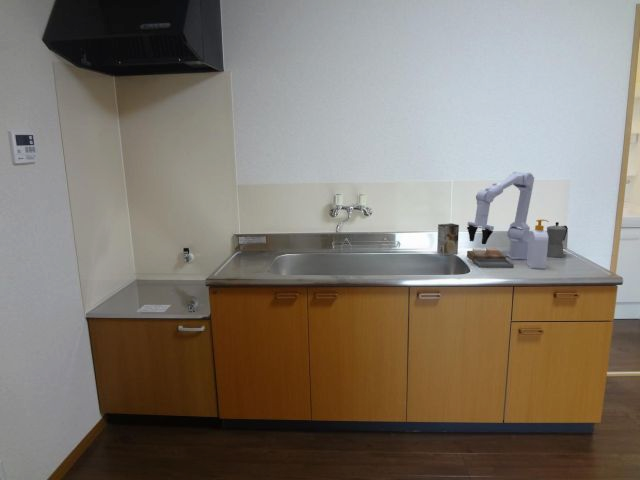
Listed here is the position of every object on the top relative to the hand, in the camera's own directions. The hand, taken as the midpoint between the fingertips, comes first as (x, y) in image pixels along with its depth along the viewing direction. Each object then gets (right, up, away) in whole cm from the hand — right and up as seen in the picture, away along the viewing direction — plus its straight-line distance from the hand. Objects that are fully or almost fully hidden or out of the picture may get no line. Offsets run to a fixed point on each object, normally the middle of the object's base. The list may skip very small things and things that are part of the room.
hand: (477, 242), depth 227 cm
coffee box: (-8, -6, +24) cm, 26 cm away
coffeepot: (+47, -7, +18) cm, 51 cm away
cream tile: (+5, -5, +12) cm, 14 cm away
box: (+7, -11, -1) cm, 13 cm away
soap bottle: (+27, -12, -4) cm, 30 cm away
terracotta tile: (+12, -5, +11) cm, 17 cm away
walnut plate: (+8, -9, +11) cm, 16 cm away
